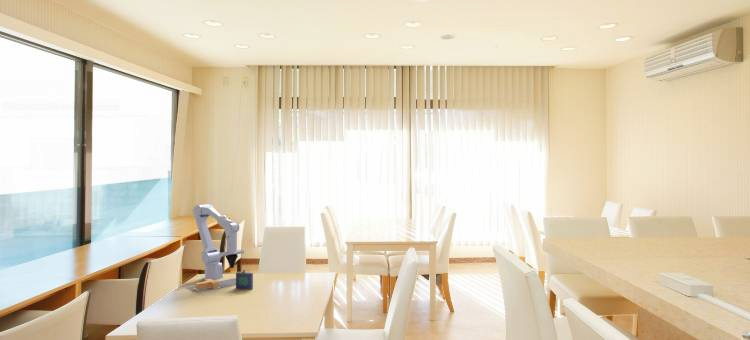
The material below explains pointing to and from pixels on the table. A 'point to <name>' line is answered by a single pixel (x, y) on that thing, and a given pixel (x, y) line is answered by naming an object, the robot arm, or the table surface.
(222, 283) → the mat
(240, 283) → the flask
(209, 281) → the t block
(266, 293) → the table surface
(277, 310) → the table surface
